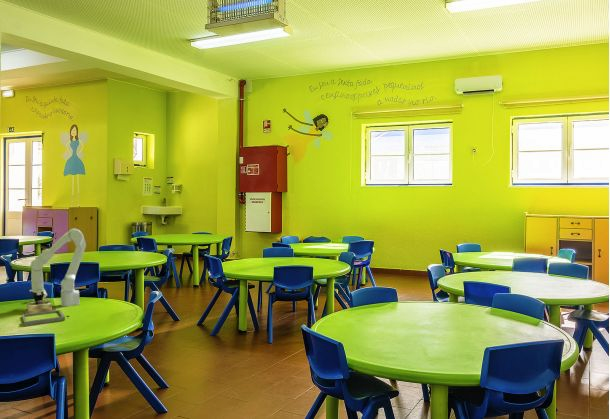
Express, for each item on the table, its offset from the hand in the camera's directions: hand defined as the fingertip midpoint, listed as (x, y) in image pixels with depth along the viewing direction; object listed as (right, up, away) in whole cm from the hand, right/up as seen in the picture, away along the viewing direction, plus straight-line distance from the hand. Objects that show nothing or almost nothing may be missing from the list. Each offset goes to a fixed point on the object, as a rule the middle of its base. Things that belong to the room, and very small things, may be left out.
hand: (38, 305), depth 285 cm
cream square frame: (+3, -2, -5) cm, 6 cm away
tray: (+13, -3, -21) cm, 25 cm away
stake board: (+3, -3, -5) cm, 7 cm away
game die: (-11, -2, +23) cm, 26 cm away
